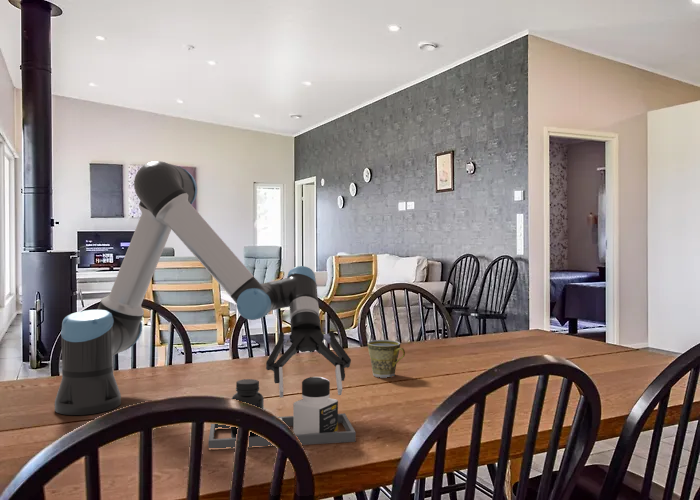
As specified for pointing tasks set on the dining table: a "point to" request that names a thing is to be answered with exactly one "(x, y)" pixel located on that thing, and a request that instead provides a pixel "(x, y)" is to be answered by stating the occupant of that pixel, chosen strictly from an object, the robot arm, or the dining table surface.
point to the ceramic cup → (384, 357)
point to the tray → (304, 438)
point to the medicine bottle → (315, 408)
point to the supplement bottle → (248, 397)
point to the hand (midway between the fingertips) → (311, 393)
